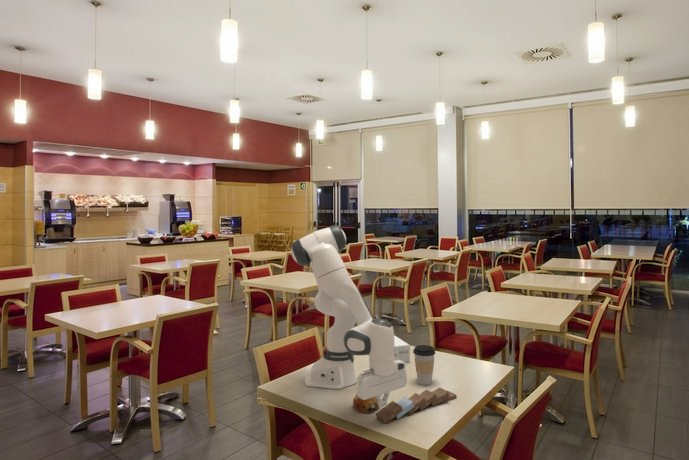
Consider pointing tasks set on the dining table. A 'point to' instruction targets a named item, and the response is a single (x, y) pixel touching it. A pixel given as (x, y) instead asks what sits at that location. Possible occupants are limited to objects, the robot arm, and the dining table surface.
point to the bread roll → (365, 404)
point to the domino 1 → (389, 412)
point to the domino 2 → (404, 406)
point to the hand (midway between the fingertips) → (382, 405)
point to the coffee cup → (424, 363)
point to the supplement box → (401, 350)
